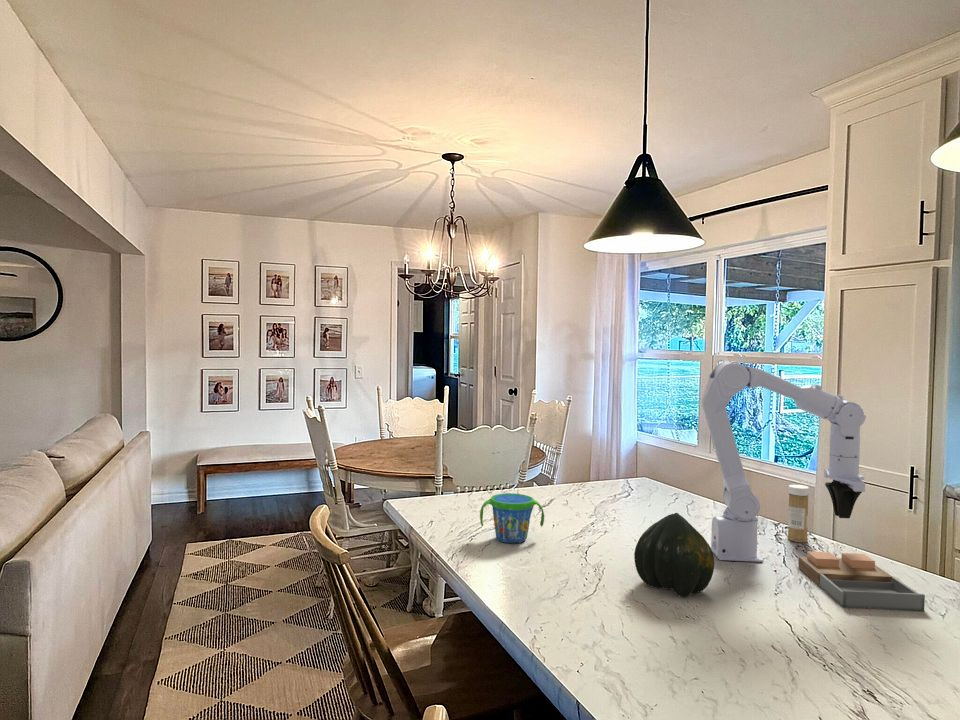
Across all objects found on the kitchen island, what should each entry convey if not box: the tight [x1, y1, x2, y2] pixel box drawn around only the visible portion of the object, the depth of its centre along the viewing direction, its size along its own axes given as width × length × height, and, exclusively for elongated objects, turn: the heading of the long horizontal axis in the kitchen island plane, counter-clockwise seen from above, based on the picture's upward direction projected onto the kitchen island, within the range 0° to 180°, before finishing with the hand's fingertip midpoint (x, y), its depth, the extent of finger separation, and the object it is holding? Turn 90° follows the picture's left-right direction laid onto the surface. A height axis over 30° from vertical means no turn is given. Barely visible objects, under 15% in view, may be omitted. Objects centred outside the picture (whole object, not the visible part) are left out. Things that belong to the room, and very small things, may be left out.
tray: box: [819, 574, 926, 612], centre depth 120 cm, size 14×10×3 cm
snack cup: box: [479, 492, 545, 544], centre depth 153 cm, size 16×10×10 cm
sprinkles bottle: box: [787, 484, 810, 544], centre depth 155 cm, size 5×5×13 cm
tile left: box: [806, 550, 839, 567], centre depth 133 cm, size 4×4×2 cm
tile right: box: [841, 552, 876, 569], centre depth 132 cm, size 4×4×2 cm
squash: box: [633, 512, 715, 598], centre depth 124 cm, size 14×15×15 cm
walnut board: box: [798, 556, 893, 586], centre depth 131 cm, size 14×10×2 cm
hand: (842, 516), depth 139 cm, fingers closed
